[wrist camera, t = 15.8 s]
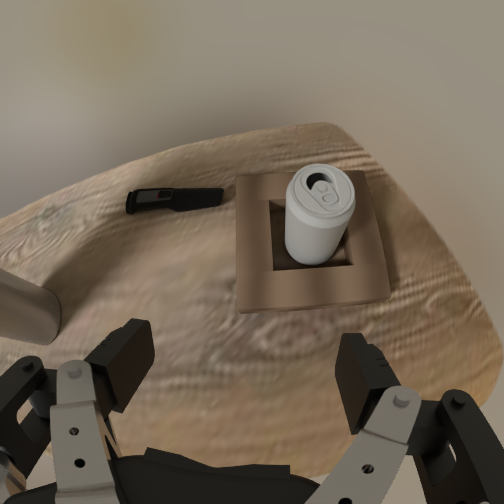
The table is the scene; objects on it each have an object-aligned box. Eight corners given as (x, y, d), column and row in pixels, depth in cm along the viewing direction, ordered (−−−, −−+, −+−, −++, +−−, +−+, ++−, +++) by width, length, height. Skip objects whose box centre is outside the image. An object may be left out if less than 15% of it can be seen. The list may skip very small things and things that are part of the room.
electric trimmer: (225, 215, 37) (221, 203, 34) (127, 216, 38) (117, 206, 35) (228, 192, 38) (224, 179, 35) (133, 195, 40) (124, 184, 37)
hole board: (240, 313, 31) (237, 309, 28) (239, 189, 37) (235, 176, 35) (382, 302, 30) (391, 296, 27) (358, 183, 36) (363, 170, 33)
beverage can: (322, 214, 35) (337, 152, 24) (343, 257, 32) (371, 207, 21) (277, 229, 35) (274, 170, 23) (296, 275, 32) (304, 230, 21)
